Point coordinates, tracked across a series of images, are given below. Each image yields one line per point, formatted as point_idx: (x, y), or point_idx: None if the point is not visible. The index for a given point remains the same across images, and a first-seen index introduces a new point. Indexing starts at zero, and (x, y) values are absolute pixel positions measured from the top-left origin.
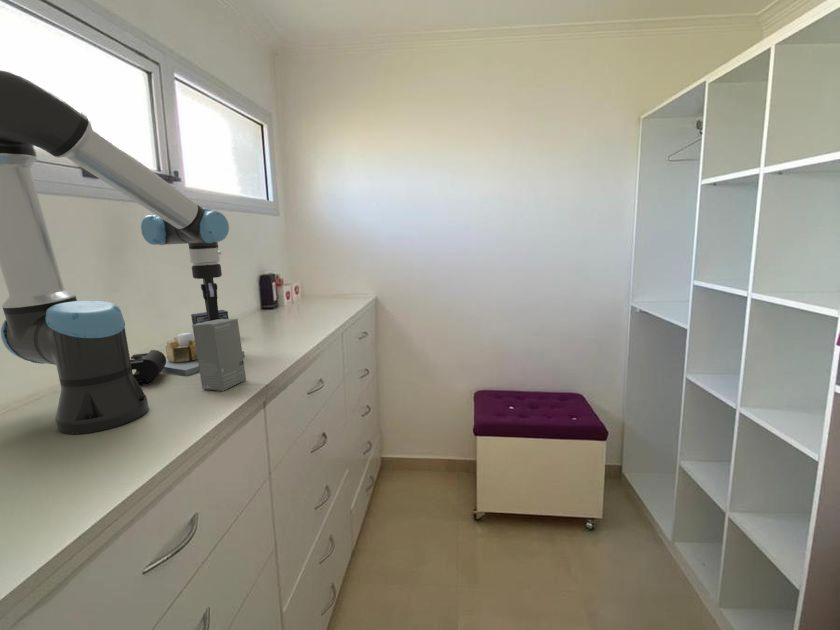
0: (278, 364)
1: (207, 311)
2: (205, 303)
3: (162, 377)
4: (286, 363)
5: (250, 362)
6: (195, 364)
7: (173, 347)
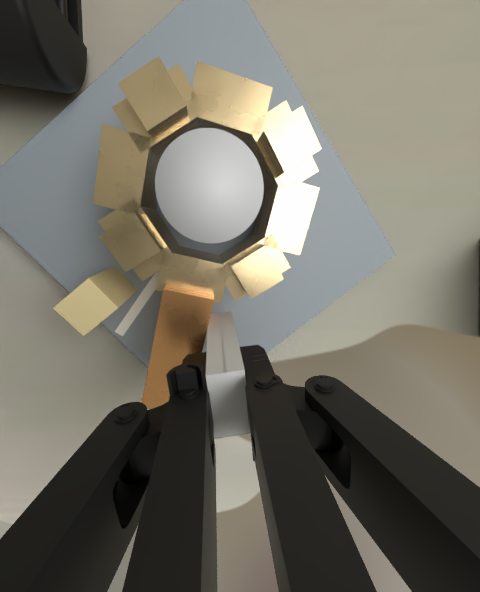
0: (12, 491)
1: (261, 450)
2: (443, 517)
3: (8, 94)
4: (13, 511)
5: (87, 415)
6: (60, 235)
7: (127, 117)
